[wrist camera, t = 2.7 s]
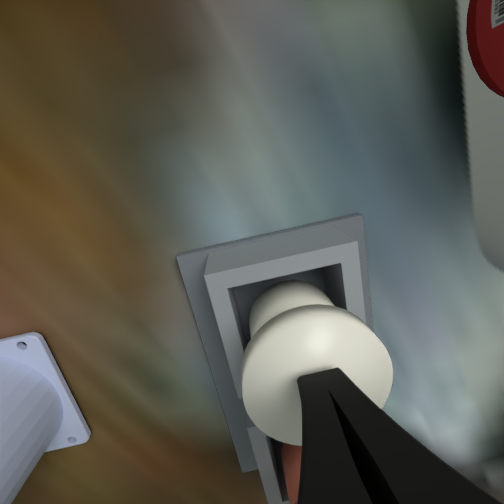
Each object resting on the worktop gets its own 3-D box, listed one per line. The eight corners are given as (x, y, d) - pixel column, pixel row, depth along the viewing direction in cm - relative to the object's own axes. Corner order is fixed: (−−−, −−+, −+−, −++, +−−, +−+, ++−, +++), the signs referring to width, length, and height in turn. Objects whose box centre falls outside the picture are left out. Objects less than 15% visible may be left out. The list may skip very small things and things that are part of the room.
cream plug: (250, 373, 14) (259, 459, 10) (227, 282, 13) (226, 340, 9) (348, 350, 14) (396, 427, 10) (336, 258, 13) (388, 303, 9)
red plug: (280, 490, 17) (297, 598, 13) (263, 426, 15) (277, 524, 11) (363, 470, 17) (407, 571, 13) (355, 405, 15) (402, 494, 11)
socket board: (242, 464, 20) (244, 529, 17) (177, 253, 16) (162, 280, 12) (379, 432, 20) (412, 489, 17) (357, 212, 16) (396, 227, 12)
